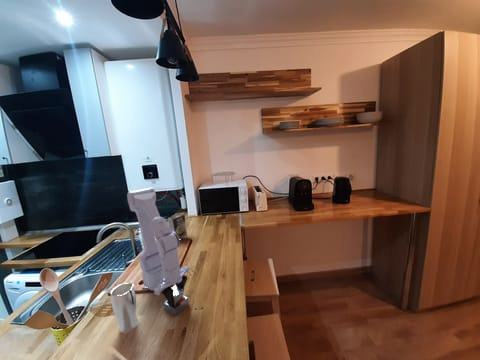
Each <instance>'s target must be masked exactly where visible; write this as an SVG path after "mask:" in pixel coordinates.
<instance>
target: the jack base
mask: <svg viewBox="0 0 480 360" xmlns="http://www.w3.org/2000/svg"><path fill="white" fill-rule="evenodd" d="M183 296H184V298H183V299H182V300H181V301H179V305H178V306H176V307H174V306H172V305H170V304H168V301H167V300H166V301H164V302H163V307H164V311H165V312H167V313H169V314H171V315H172V316H174V317H177V316H178V315H179V314H181V313H182V312H183V311H184V309H186V308H187V307H188V306H190V302H189V297H188V296H186V295H184V294H183Z"/></svg>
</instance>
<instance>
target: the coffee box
mask: <svg viewBox="0 0 480 360" xmlns="http://www.w3.org/2000/svg"><path fill="white" fill-rule="evenodd" d="M167 219H168V221H167V222H168V225H169V227H170V229H171V230H173V231H174V232H176V234H177V236H178V238H179V239H182V238H185V237H187V238H188V232H187V231H188V230H187V224H186V216H185V214H181V213H178V214H174V215H173V216H170V217H167ZM185 239H186V238H185Z"/></svg>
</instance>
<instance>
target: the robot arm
mask: <svg viewBox="0 0 480 360" xmlns="http://www.w3.org/2000/svg"><path fill="white" fill-rule="evenodd" d="M126 197H127V203H128V206H129V210H130V211H131V212H135V214H136V217H137V220H138V221H137V222H138V225H139V226H138V227H139V229H140V234H141V238H142V242H143V246H144V249H143V250H142V252H140V254H139V266H140V269H141V271H142V273H141V275H142V282H143V285H144V286H146V287H148V288H147V289H149V290H150V291H153V294H154V295H156V296H160V295H161V293H162V294H163V296H164V297H165V299H166V301H168V304H170V305H173V303H174V300H173V292H174V289H172V288H173V287H171V286H173V285H175V286H177V287H180V288H182V289H183V293H184V291H185V287H186V286H185V285H186V283H187V281H188V276H186V275H185V274H187V273H189V272H190V267H189V266H187V265H184V266H183V267H181V266H180V259H179V252H178V248H179V247H180V242H181V241H179V238H178V236H177V234H176V232H174V231H173V230H171V229H170V227H169V223H168V221H167V220H166V218H165V217H162V216H161V215H160V212H159V211H158V208H157V205H156V201H157V193H156V191H155V189H154V188H153V187H151V186H150V187H149V188H143V189H142V188H141V189H137V190H132V191H128V192H127V194H126ZM144 286H143V287H144Z"/></svg>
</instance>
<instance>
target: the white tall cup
mask: <svg viewBox="0 0 480 360" xmlns="http://www.w3.org/2000/svg"><path fill="white" fill-rule="evenodd" d="M135 291H136V290H135V288H134V284H133V283H131V282H123V283H121V284H118V285H117V286H115V287H114V288H112V290H111V291H110V301H111V307H112V311H113V314H114V315H115V318H116V320H117V321H118V331H119V333H121V334H127V333H130V332H132V331H133V330H135V329H136V327H137V326H138V325H139V319H138V316H137V295H136V292H135Z"/></svg>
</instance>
